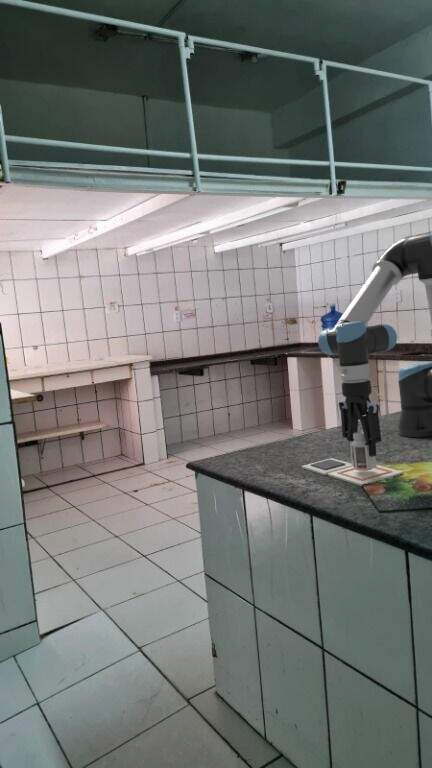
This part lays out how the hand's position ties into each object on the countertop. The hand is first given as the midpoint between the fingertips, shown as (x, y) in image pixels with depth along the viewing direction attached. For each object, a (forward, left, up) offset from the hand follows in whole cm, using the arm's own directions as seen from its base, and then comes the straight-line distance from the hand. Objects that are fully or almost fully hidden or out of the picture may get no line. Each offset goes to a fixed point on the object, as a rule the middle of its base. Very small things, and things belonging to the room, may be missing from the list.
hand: (364, 465), depth 152 cm
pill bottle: (0, 0, -1) cm, 1 cm away
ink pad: (+2, -13, -3) cm, 14 cm away
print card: (0, 0, -3) cm, 3 cm away
